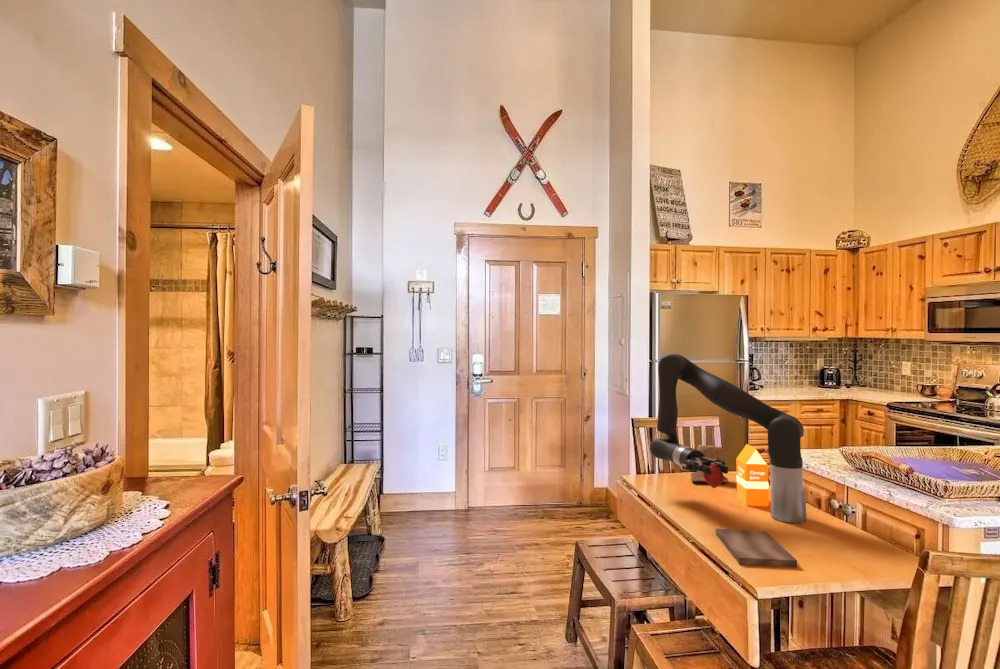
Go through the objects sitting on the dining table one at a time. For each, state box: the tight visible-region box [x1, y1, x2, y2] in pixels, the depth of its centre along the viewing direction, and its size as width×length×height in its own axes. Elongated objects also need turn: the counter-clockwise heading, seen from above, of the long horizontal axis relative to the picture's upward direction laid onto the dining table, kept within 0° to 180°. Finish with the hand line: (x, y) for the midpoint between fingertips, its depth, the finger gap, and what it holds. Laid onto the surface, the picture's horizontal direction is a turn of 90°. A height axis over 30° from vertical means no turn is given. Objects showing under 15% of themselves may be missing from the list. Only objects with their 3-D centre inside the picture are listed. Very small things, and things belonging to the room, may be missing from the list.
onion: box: [704, 463, 725, 489], centre depth 156 cm, size 6×6×8 cm
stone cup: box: [690, 444, 729, 483], centre depth 204 cm, size 15×12×15 cm
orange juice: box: [735, 443, 770, 507], centre depth 177 cm, size 8×9×20 cm
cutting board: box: [715, 528, 798, 568], centre depth 136 cm, size 14×20×2 cm
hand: (718, 470), depth 153 cm, fingers closed on onion, 5 cm apart
